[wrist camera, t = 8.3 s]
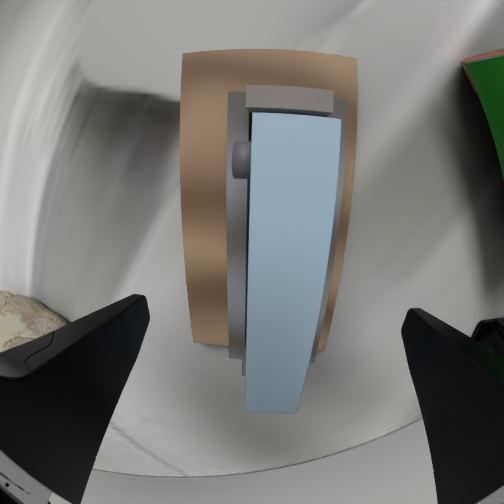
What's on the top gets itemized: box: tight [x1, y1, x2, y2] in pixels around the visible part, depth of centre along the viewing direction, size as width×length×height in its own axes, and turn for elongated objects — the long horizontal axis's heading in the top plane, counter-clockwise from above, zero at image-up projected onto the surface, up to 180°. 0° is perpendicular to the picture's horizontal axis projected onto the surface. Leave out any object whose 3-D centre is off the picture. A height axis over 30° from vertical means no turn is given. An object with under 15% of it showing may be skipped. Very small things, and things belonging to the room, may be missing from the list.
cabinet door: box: [232, 112, 341, 413], centre depth 13 cm, size 12×3×8 cm, turn 178°
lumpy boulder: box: [0, 291, 67, 352], centre depth 20 cm, size 11×11×15 cm
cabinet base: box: [180, 49, 357, 376], centre depth 15 cm, size 20×10×6 cm, turn 179°
